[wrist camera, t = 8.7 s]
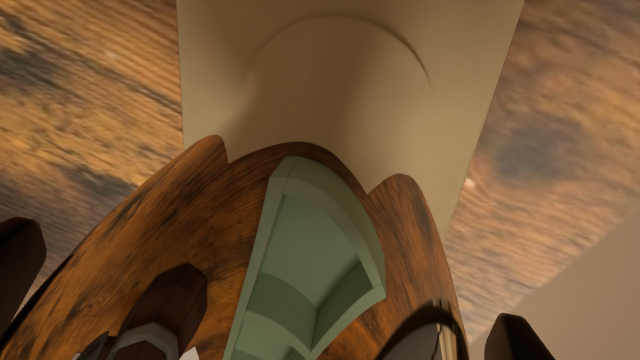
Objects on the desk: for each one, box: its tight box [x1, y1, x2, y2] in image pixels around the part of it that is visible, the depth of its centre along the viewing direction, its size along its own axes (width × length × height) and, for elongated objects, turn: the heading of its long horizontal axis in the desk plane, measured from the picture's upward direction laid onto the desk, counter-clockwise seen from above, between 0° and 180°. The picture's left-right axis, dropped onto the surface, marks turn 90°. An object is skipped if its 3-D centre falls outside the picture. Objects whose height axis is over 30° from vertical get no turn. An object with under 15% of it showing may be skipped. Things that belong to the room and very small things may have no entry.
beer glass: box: [0, 15, 470, 360], centre depth 10 cm, size 7×7×15 cm
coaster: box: [176, 0, 525, 243], centre depth 17 cm, size 10×10×1 cm
